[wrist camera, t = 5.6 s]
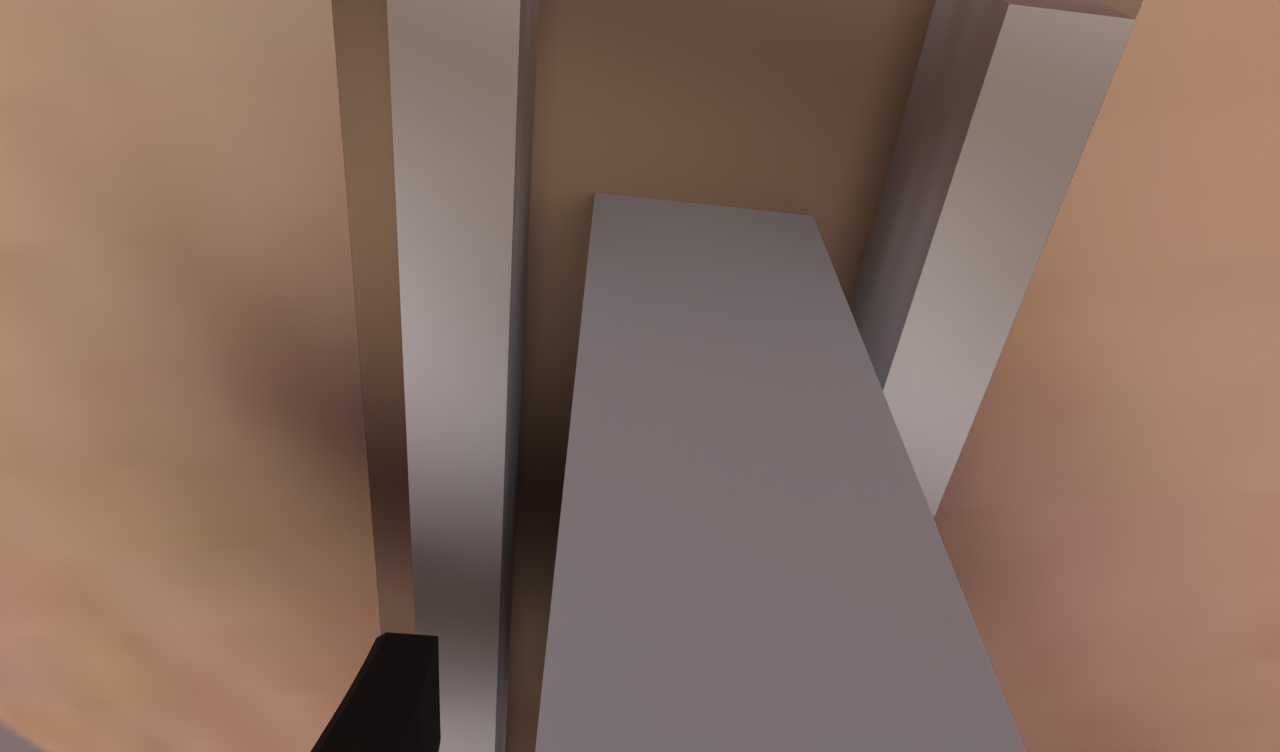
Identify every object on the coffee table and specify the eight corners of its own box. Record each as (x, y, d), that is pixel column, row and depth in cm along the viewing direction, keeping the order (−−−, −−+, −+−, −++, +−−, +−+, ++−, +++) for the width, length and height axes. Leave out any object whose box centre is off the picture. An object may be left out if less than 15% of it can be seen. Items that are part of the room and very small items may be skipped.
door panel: (697, 699, 17) (734, 1294, 10) (550, 688, 17) (492, 1288, 10) (812, 215, 11) (1060, 835, 5) (594, 192, 11) (530, 804, 4)
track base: (791, 781, 21) (815, 942, 18) (410, 757, 20) (372, 919, 18) (1090, -34, 11) (1249, 33, 8) (360, -126, 10) (252, -90, 8)
